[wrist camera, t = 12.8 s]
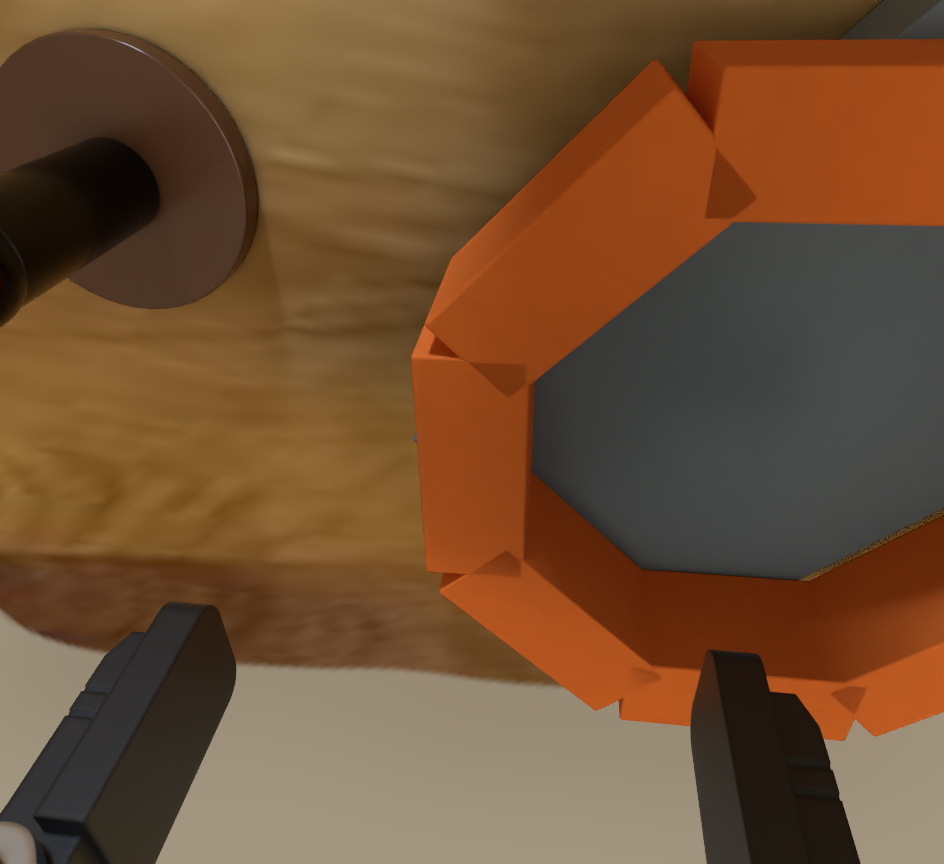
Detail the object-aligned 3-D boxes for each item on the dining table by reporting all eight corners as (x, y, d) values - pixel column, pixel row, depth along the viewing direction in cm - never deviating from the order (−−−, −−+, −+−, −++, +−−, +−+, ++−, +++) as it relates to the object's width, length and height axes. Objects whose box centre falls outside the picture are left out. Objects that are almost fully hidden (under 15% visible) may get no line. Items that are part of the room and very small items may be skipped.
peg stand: (71, -44, 17) (-272, -38, 10) (309, 180, 19) (160, 307, 12) (-37, 174, 20) (-348, 289, 13) (176, 342, 22) (3, 513, 15)
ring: (915, -200, 12) (1031, -251, 9) (1279, 432, 17) (1428, 536, 14) (319, 387, 19) (272, 466, 16) (693, 696, 25) (709, 798, 22)
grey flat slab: (903, -19, 15) (956, -13, 13) (1127, 334, 18) (1196, 383, 16) (427, 394, 22) (412, 440, 20) (654, 592, 26) (661, 649, 23)
